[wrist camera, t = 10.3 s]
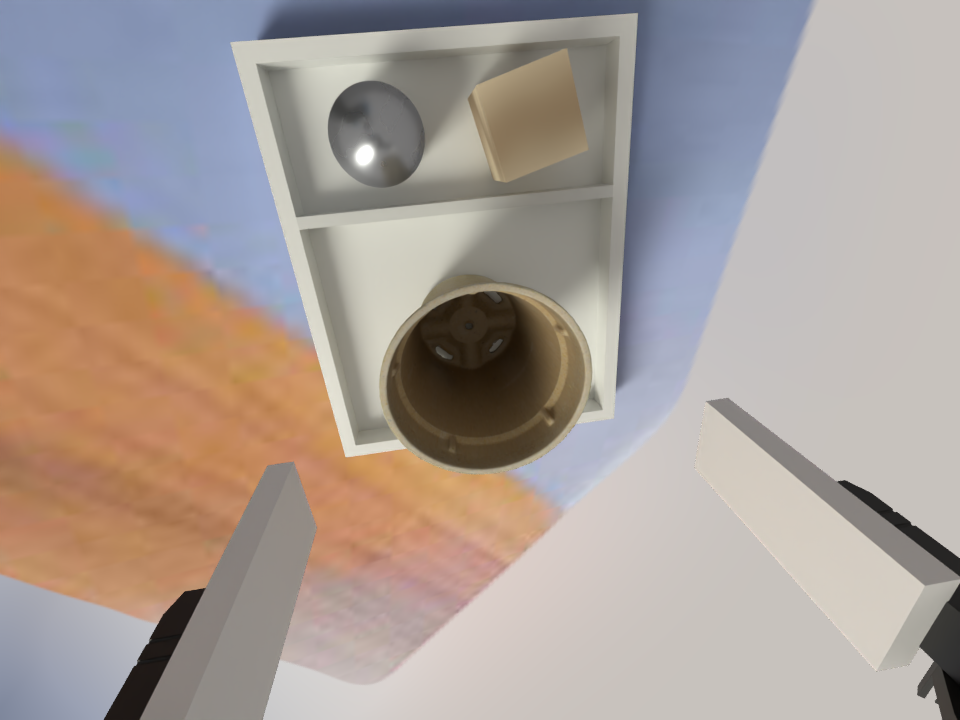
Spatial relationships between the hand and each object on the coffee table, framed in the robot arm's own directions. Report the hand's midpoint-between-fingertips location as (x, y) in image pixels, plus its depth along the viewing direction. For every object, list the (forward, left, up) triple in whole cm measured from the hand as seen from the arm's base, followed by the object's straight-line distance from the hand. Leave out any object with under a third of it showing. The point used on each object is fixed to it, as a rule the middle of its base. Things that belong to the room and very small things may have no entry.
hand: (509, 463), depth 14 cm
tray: (-3, 0, -15) cm, 15 cm away
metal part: (-10, -3, -14) cm, 18 cm away
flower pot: (0, 0, -14) cm, 14 cm away
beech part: (-10, +4, -14) cm, 18 cm away
